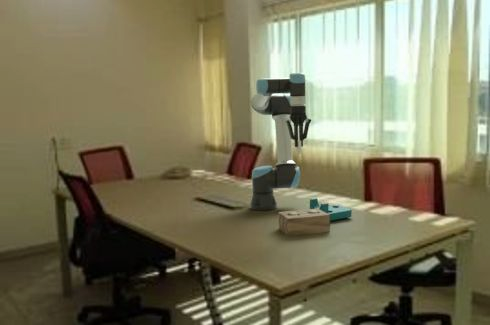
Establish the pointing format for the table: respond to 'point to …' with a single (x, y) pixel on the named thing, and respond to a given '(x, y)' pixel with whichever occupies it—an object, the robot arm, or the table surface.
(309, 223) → the socket block
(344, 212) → the teal l-shaped bracket
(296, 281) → the table surface
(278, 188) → the robot arm
